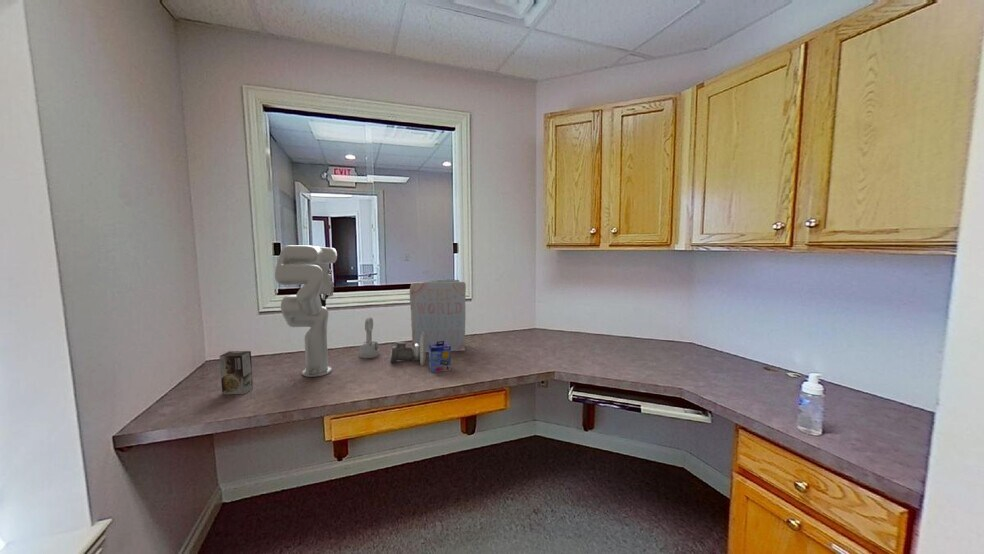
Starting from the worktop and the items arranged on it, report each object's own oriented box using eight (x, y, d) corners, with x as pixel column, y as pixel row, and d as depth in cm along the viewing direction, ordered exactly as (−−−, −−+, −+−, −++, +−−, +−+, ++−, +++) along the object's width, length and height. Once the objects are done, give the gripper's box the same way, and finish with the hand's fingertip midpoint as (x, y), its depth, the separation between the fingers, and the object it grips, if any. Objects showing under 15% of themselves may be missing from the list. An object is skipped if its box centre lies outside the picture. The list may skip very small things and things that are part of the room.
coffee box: (253, 388, 161) (251, 350, 159) (244, 394, 155) (242, 355, 153) (231, 388, 161) (229, 350, 159) (221, 394, 154) (218, 355, 153)
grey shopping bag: (410, 347, 229) (409, 279, 226) (463, 344, 235) (462, 278, 233) (410, 354, 212) (408, 281, 210) (466, 350, 218) (465, 280, 216)
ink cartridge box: (430, 372, 182) (430, 342, 180) (428, 369, 187) (428, 339, 185) (451, 370, 185) (451, 341, 184) (448, 367, 190) (448, 338, 189)
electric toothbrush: (356, 357, 204) (375, 358, 204) (355, 319, 202) (374, 319, 202) (363, 351, 215) (381, 352, 214) (362, 315, 213) (380, 315, 212)
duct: (423, 364, 193) (423, 337, 192) (413, 365, 193) (412, 337, 191) (425, 356, 207) (425, 330, 206) (416, 356, 206) (415, 331, 205)
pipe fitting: (389, 363, 193) (391, 343, 193) (389, 360, 201) (391, 340, 201) (413, 364, 196) (415, 344, 196) (413, 361, 204) (415, 342, 204)
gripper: (338, 271, 202) (339, 306, 204) (308, 271, 201) (310, 306, 203) (334, 272, 195) (335, 308, 196) (303, 272, 193) (304, 308, 195)
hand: (322, 307), depth 200 cm, fingers closed
